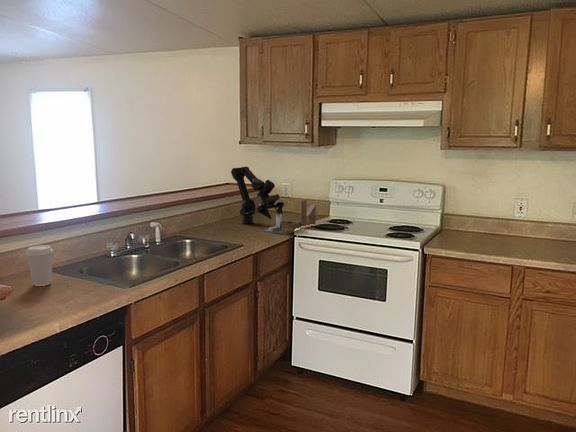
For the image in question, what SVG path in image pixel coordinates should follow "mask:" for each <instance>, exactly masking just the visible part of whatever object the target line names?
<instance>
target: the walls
mask: <svg viewBox="0 0 576 432" xmlns="http://www.w3.org/2000/svg"><path fill="white" fill-rule="evenodd" d="M282 226H283V233H287V232H290V231H294V230H295V229H296V228H299V227H301V221H295V220H287V219H282Z"/></svg>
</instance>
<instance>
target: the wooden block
mask: <svg viewBox="0 0 576 432" xmlns="http://www.w3.org/2000/svg"><path fill="white" fill-rule="evenodd" d="M307 200H308V199H301V200H300V202H301V203H300V222H301V226H306V225H310V224H315V225H316V221H317V220H316V218H317V217H316V216H317V213H316V210H317V209H316V208H317V207H316V206H317V205H316V204H311V205H310V207H309V208H307V207H308V201H307Z"/></svg>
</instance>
